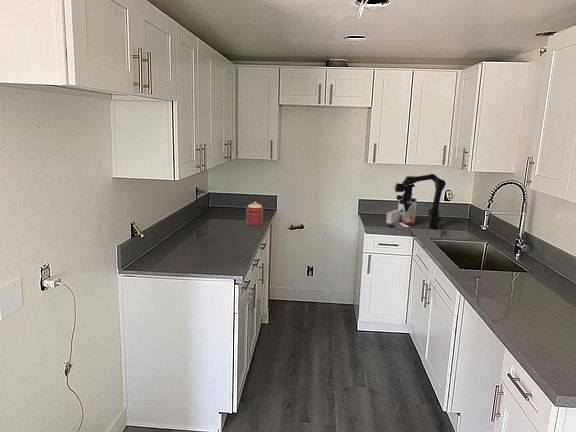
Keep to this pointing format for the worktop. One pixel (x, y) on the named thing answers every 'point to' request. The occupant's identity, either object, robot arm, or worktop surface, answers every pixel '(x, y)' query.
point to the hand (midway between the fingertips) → (406, 211)
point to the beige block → (394, 216)
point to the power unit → (400, 226)
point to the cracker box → (408, 212)
